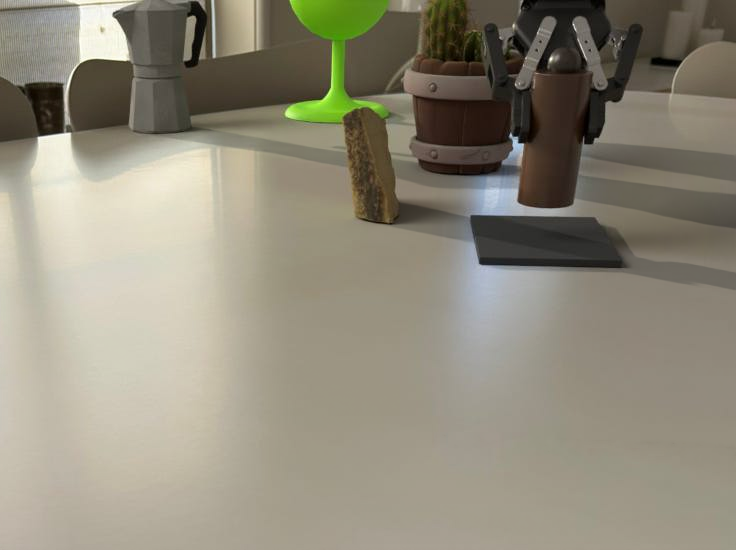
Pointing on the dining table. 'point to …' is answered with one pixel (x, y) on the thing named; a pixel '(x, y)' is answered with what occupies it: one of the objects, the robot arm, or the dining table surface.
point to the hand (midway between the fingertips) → (557, 137)
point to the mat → (542, 241)
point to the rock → (370, 166)
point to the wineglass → (336, 52)
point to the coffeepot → (160, 62)
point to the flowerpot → (457, 96)
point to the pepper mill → (555, 131)
